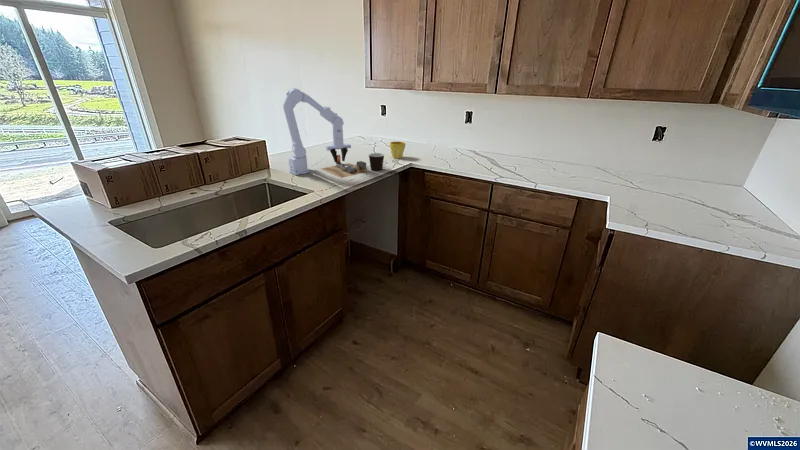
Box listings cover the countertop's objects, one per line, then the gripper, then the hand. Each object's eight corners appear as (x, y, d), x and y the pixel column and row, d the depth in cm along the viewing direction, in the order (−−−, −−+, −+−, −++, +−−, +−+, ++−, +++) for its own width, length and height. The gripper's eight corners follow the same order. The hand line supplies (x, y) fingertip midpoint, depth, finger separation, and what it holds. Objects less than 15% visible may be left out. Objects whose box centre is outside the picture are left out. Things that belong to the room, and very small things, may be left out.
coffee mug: (378, 175, 187) (378, 157, 183) (366, 172, 191) (365, 155, 187) (389, 170, 196) (389, 153, 192) (377, 168, 200) (377, 151, 196)
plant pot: (396, 154, 231) (396, 140, 227) (408, 157, 226) (408, 142, 221) (386, 157, 224) (386, 142, 220) (398, 160, 218) (398, 145, 214)
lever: (355, 171, 186) (354, 160, 183) (348, 173, 184) (348, 161, 181) (340, 164, 199) (339, 154, 196) (334, 165, 197) (333, 155, 194)
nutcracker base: (341, 180, 177) (340, 169, 175) (320, 171, 192) (319, 161, 189) (371, 173, 190) (370, 163, 187) (349, 165, 204) (348, 155, 202)
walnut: (355, 172, 186) (355, 166, 184) (351, 171, 188) (351, 164, 187) (360, 171, 188) (360, 165, 187) (357, 169, 191) (356, 163, 189)
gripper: (347, 135, 197) (348, 158, 202) (323, 137, 190) (325, 161, 195) (352, 137, 191) (353, 161, 197) (327, 139, 184) (329, 164, 190)
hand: (339, 161), depth 196 cm, fingers open, 4 cm apart
